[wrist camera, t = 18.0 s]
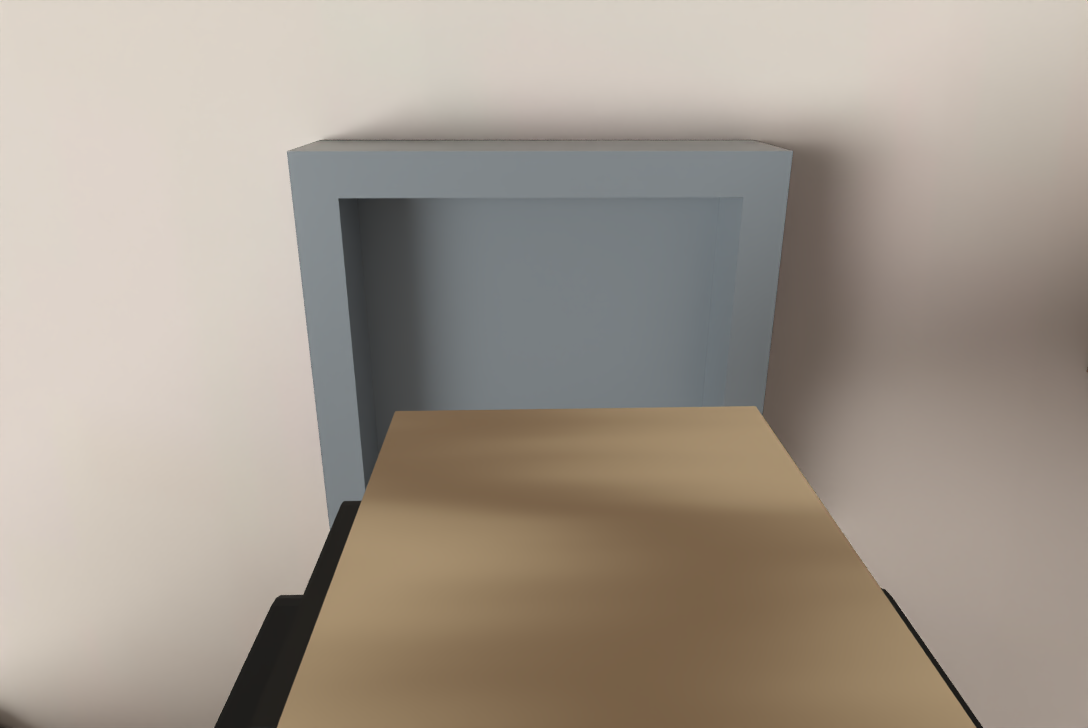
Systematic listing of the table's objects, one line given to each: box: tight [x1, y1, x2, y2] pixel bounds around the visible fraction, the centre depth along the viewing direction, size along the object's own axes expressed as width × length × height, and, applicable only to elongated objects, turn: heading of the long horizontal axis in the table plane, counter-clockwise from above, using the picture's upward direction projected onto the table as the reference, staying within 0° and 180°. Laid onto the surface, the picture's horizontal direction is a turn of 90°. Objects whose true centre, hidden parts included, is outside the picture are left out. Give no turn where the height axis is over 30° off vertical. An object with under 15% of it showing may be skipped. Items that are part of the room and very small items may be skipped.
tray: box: [287, 140, 793, 530], centre depth 20 cm, size 11×11×3 cm
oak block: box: [277, 406, 976, 728], centre depth 9 cm, size 5×5×6 cm
